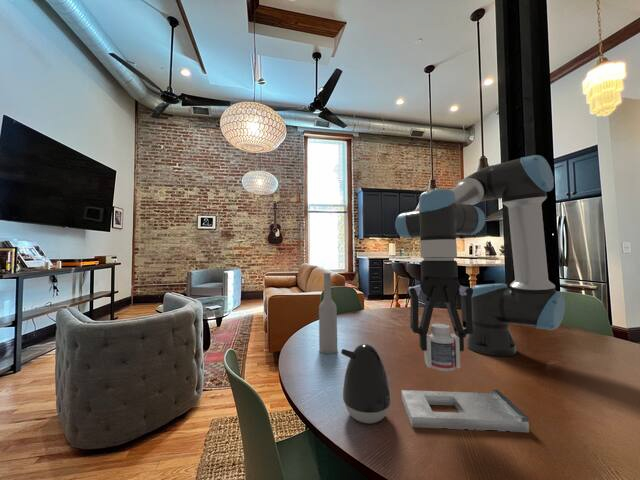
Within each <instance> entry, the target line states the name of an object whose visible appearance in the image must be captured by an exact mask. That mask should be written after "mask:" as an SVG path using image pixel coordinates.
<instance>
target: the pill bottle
mask: <svg viewBox="0 0 640 480" xmlns="http://www.w3.org/2000/svg"><path fill="white" fill-rule="evenodd" d="M430 331H431V334H428V335H429V336H430V337H431V362H432V369H433V370H437V371H441V372H451V371H454V370H455V369H456V367H455V350H454V339H453V337H452V336H451V334H452V333H451V326H450V325H448V324H446V323H445V324H444V323H432V324H430Z"/></svg>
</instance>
